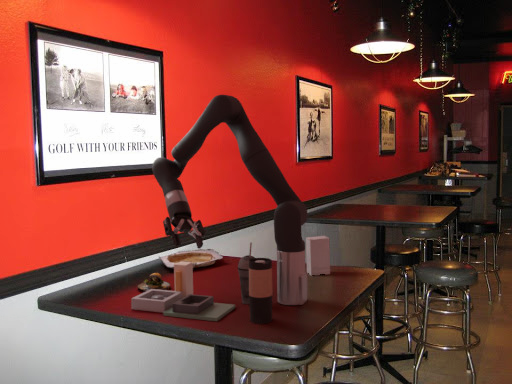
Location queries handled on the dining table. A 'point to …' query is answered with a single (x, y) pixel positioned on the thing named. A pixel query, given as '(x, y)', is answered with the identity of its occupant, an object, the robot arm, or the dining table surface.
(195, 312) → the header board
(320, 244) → the skincare box
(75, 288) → the dining table surface
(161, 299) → the fan
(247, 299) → the beverage cup
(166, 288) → the burger
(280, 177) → the robot arm
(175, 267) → the plug
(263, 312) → the travel mug
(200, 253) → the oval serving dish
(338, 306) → the dining table surface
